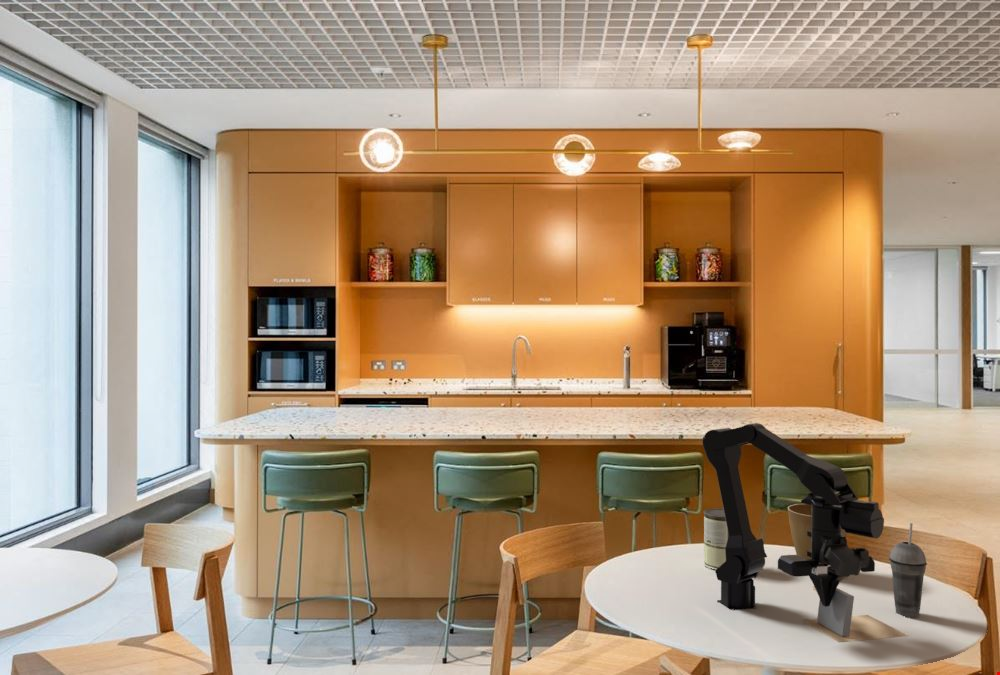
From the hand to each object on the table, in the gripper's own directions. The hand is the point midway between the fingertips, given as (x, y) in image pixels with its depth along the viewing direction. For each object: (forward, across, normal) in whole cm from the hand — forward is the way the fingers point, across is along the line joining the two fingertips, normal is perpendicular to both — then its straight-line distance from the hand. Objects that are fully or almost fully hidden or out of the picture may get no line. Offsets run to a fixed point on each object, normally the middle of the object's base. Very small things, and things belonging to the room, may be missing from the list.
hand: (825, 605), depth 160 cm
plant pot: (+6, +24, +37) cm, 45 cm away
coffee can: (+6, +3, +47) cm, 48 cm away
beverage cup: (+6, +25, +6) cm, 26 cm away
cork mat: (+6, +7, 0) cm, 9 cm away
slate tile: (+5, +2, 0) cm, 5 cm away
